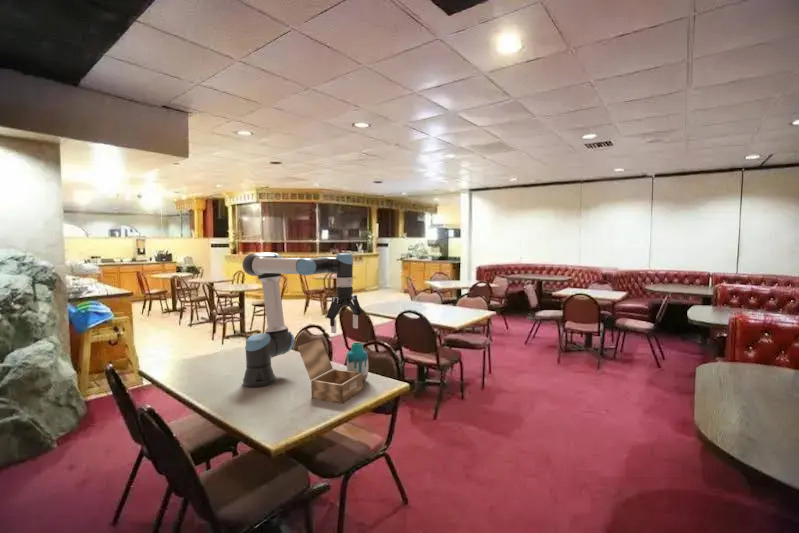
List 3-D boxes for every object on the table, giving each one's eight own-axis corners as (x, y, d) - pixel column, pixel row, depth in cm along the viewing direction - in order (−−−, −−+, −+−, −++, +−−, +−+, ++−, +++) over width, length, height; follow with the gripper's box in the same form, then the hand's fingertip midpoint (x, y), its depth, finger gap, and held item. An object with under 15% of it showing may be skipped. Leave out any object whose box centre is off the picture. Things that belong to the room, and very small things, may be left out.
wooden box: (311, 398, 180) (311, 380, 179) (334, 385, 196) (333, 368, 195) (342, 403, 173) (342, 385, 172) (363, 389, 189) (363, 373, 189)
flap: (311, 379, 180) (310, 380, 180) (332, 368, 195) (331, 369, 195) (298, 346, 182) (297, 346, 182) (320, 338, 197) (319, 338, 197)
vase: (365, 385, 195) (364, 346, 193) (344, 384, 197) (343, 345, 196) (371, 378, 205) (370, 341, 204) (351, 377, 207) (350, 340, 206)
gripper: (329, 289, 179) (329, 336, 180) (369, 284, 197) (369, 327, 199) (318, 287, 183) (318, 333, 185) (358, 283, 202) (358, 325, 204)
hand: (344, 330), depth 192 cm, fingers open, 13 cm apart
